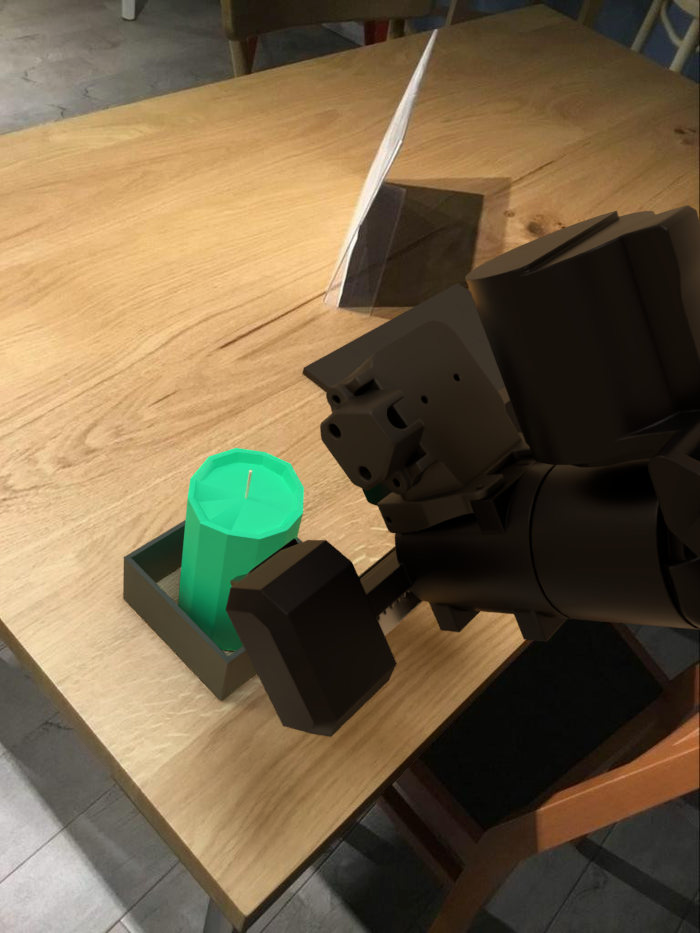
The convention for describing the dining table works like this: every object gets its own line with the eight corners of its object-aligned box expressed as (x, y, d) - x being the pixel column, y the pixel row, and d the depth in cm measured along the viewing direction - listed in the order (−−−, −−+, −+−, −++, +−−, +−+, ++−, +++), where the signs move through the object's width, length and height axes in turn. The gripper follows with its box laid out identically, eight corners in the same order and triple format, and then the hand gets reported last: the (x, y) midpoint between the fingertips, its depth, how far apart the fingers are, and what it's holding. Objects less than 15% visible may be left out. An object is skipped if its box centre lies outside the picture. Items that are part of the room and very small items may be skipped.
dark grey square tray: (329, 615, 53) (342, 577, 50) (220, 701, 48) (227, 663, 45) (234, 527, 56) (241, 485, 53) (122, 598, 51) (123, 556, 48)
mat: (642, 413, 72) (645, 408, 72) (508, 533, 60) (510, 528, 60) (455, 288, 79) (457, 282, 79) (302, 373, 67) (303, 367, 67)
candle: (233, 549, 55) (255, 411, 46) (299, 613, 52) (335, 480, 44) (155, 600, 51) (163, 460, 42) (222, 671, 49) (245, 539, 40)
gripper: (632, 239, 34) (366, 315, 46) (309, 452, 23) (65, 480, 35) (709, 489, 37) (440, 500, 49) (456, 786, 26) (185, 709, 38)
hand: (305, 537), depth 43 cm, fingers open, 9 cm apart
